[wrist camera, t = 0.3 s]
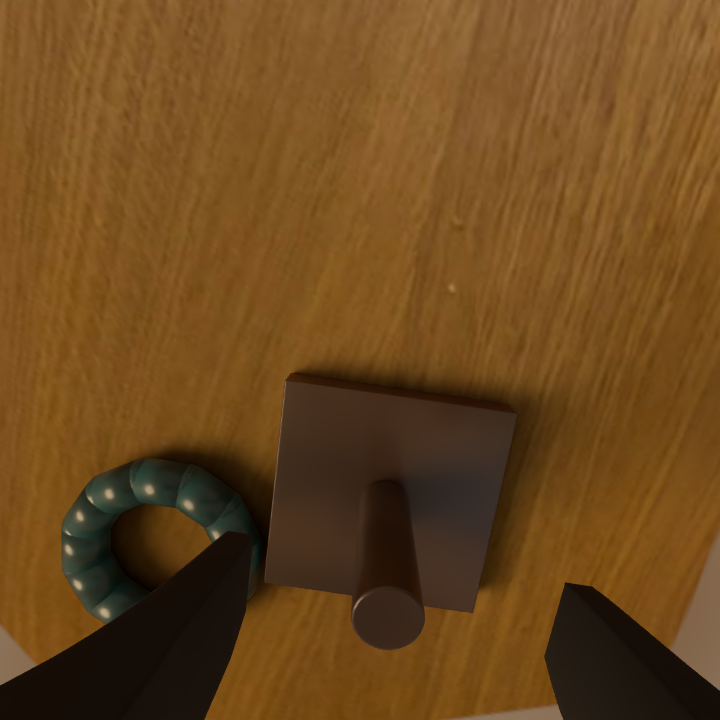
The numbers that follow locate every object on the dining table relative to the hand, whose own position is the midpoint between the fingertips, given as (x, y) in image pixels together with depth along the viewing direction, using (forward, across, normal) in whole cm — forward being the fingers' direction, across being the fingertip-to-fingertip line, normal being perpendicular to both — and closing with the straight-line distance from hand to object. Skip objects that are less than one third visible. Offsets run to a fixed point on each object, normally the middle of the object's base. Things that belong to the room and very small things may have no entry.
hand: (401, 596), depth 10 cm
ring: (+8, +9, +6) cm, 13 cm away
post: (+9, 0, +2) cm, 9 cm away
